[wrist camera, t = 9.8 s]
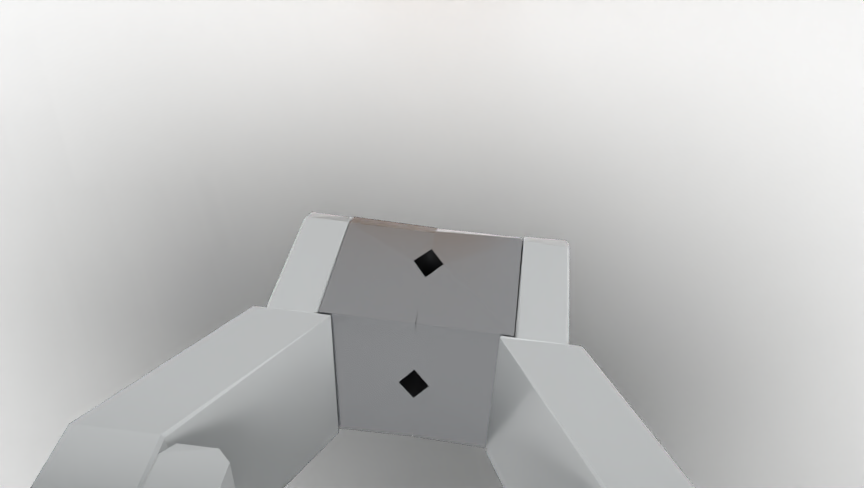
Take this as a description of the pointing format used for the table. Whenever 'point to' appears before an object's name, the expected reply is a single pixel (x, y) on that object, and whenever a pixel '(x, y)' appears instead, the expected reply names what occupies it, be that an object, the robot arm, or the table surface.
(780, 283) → the table surface
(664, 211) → the table surface
